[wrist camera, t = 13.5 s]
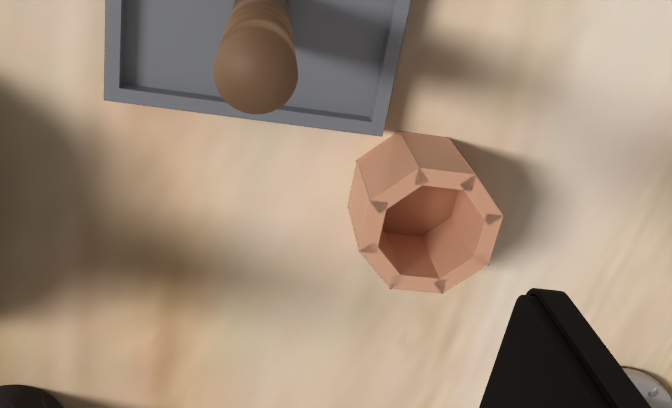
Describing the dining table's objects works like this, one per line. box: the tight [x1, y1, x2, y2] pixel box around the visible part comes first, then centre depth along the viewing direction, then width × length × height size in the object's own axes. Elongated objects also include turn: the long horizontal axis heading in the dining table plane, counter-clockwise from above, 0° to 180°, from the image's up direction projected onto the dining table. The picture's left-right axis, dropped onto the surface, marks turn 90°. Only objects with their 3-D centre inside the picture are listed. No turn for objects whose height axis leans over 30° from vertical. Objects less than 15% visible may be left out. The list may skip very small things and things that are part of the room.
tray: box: [104, 0, 411, 136], centre depth 35 cm, size 16×12×2 cm
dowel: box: [213, 0, 298, 114], centre depth 29 cm, size 3×3×14 cm
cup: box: [348, 131, 504, 294], centre depth 39 cm, size 8×8×6 cm
